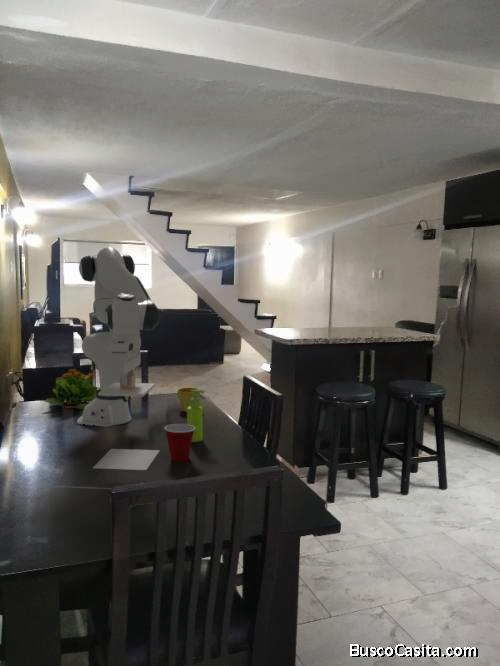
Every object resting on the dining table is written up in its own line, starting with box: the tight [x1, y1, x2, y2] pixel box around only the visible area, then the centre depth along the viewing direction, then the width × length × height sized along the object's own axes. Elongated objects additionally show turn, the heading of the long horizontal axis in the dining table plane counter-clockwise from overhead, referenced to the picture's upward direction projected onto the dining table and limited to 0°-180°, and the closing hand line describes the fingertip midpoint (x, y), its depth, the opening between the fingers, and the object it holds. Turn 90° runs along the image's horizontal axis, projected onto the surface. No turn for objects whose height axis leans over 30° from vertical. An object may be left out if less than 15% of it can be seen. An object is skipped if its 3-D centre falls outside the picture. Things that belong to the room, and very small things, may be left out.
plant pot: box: [176, 387, 201, 413], centre depth 234 cm, size 10×10×10 cm
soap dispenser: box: [186, 388, 206, 443], centre depth 192 cm, size 6×7×20 cm
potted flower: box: [43, 368, 99, 410], centre depth 239 cm, size 25×24×18 cm
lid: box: [98, 373, 156, 397], centre depth 170 cm, size 15×15×5 cm
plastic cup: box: [163, 423, 196, 463], centre depth 173 cm, size 11×11×12 cm
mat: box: [92, 448, 160, 471], centre depth 173 cm, size 18×18×1 cm
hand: (127, 383), depth 170 cm, fingers closed on lid, 4 cm apart
